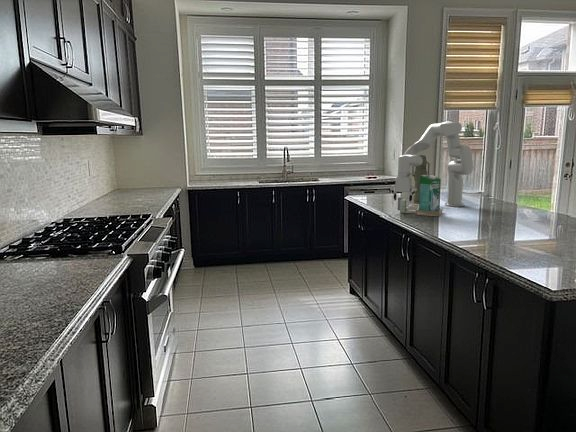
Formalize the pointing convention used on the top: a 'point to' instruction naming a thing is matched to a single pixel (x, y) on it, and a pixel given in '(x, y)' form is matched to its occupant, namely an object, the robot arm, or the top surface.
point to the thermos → (419, 171)
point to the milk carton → (429, 193)
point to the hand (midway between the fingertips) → (402, 200)
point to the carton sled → (417, 211)
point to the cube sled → (408, 206)
